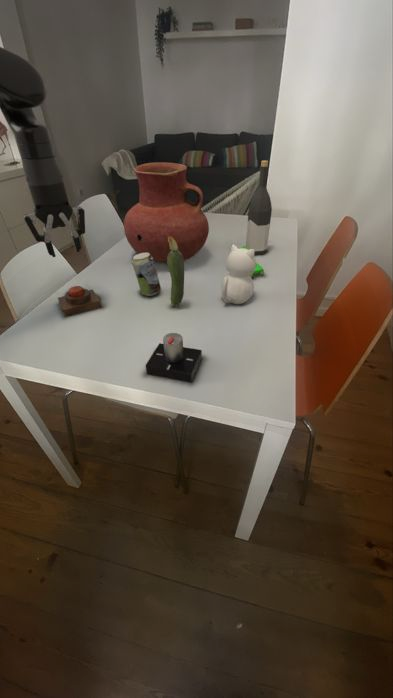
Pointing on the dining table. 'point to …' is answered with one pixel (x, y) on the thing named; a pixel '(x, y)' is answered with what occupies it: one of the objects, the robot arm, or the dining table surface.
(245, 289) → the cat figurine
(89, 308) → the button block
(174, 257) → the vegetable
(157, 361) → the panel
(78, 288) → the button
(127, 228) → the clay pot
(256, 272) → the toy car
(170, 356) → the hob knob
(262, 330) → the dining table surface
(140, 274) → the beverage can
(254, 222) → the wine bottle
